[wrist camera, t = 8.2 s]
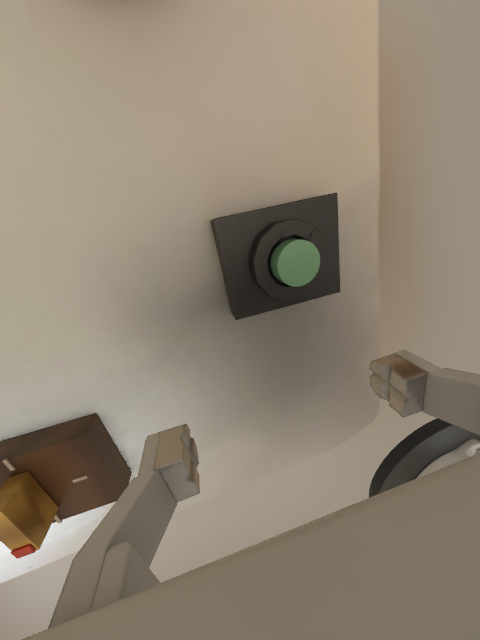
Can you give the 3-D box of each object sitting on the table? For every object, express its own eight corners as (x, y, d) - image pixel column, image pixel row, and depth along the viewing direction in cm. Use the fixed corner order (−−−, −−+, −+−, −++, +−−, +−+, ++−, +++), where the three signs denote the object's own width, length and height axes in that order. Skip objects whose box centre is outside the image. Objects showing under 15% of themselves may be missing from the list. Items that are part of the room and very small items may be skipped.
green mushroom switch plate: (323, 196, 21) (351, 188, 18) (328, 287, 25) (352, 296, 21) (210, 220, 20) (215, 217, 17) (231, 313, 24) (239, 327, 20)
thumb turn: (8, 477, 22) (-27, 523, 18) (28, 470, 22) (-2, 515, 18) (41, 513, 24) (16, 560, 20) (59, 507, 24) (37, 553, 21)
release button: (307, 234, 19) (319, 234, 17) (311, 277, 20) (321, 281, 19) (266, 244, 18) (274, 245, 17) (273, 287, 20) (280, 291, 18)
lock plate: (95, 412, 24) (83, 436, 22) (132, 473, 28) (125, 500, 25) (-48, 455, 23) (-83, 487, 20) (11, 513, 27) (-10, 546, 24)
